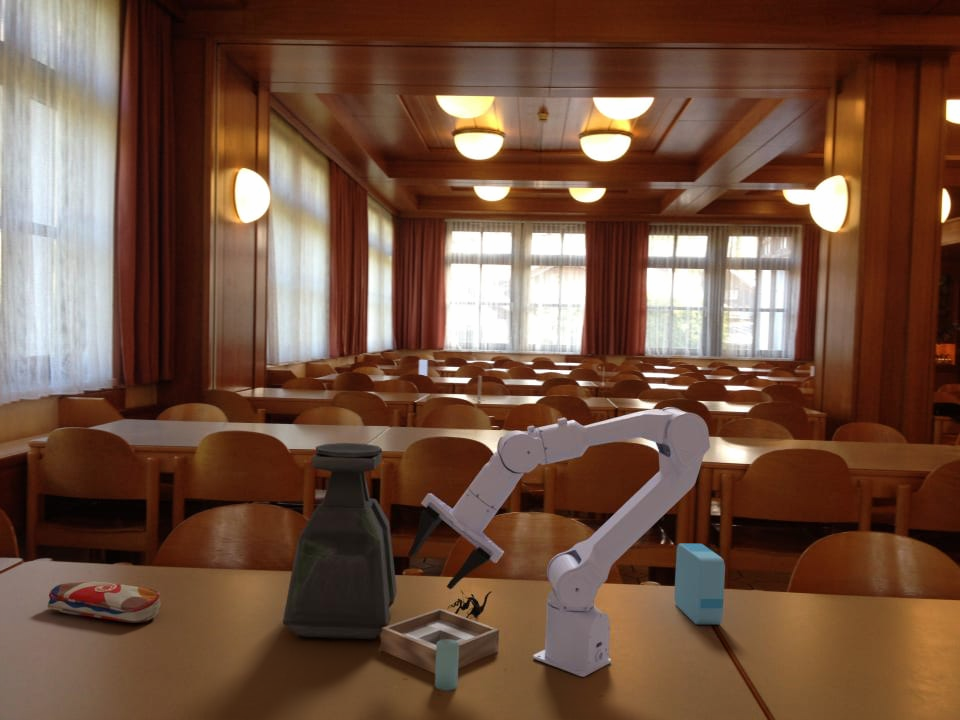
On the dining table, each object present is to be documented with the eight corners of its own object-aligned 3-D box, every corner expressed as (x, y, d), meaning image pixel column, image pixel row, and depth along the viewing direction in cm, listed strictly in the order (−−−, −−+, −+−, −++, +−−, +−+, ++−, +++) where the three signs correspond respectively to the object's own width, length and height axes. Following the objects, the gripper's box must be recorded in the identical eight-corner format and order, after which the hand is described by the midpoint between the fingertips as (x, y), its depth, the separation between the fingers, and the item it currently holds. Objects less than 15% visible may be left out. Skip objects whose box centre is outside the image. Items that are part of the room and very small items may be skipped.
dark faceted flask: (385, 647, 125) (392, 458, 124) (281, 643, 125) (286, 454, 124) (396, 607, 143) (402, 442, 142) (305, 604, 143) (310, 438, 142)
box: (498, 651, 125) (499, 629, 125) (440, 676, 115) (441, 652, 115) (439, 628, 134) (439, 608, 133) (381, 650, 124) (381, 627, 124)
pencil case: (110, 638, 125) (111, 607, 124) (37, 612, 134) (38, 583, 134) (169, 618, 134) (170, 589, 134) (97, 595, 144) (98, 567, 144)
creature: (435, 624, 139) (470, 626, 134) (431, 593, 139) (466, 593, 134) (463, 612, 145) (498, 614, 140) (459, 583, 145) (494, 583, 141)
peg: (462, 685, 113) (463, 643, 112) (446, 692, 110) (448, 650, 110) (445, 678, 115) (447, 637, 115) (430, 685, 112) (431, 643, 112)
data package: (722, 627, 140) (726, 559, 139) (697, 627, 139) (701, 559, 139) (696, 603, 151) (699, 541, 151) (673, 603, 151) (676, 541, 150)
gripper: (440, 469, 119) (386, 542, 119) (516, 530, 115) (461, 605, 115) (451, 470, 126) (400, 539, 126) (523, 527, 122) (471, 599, 122)
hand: (430, 571), depth 121 cm, fingers open, 7 cm apart
